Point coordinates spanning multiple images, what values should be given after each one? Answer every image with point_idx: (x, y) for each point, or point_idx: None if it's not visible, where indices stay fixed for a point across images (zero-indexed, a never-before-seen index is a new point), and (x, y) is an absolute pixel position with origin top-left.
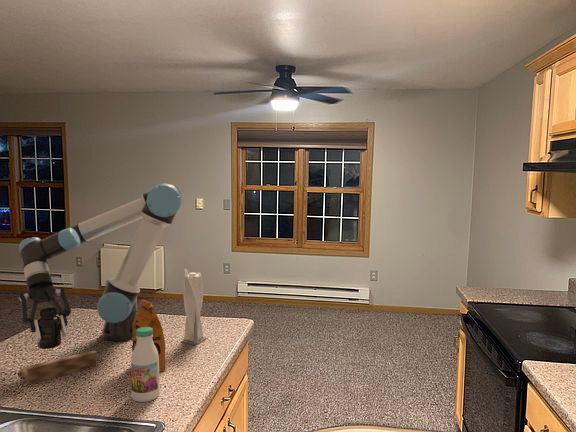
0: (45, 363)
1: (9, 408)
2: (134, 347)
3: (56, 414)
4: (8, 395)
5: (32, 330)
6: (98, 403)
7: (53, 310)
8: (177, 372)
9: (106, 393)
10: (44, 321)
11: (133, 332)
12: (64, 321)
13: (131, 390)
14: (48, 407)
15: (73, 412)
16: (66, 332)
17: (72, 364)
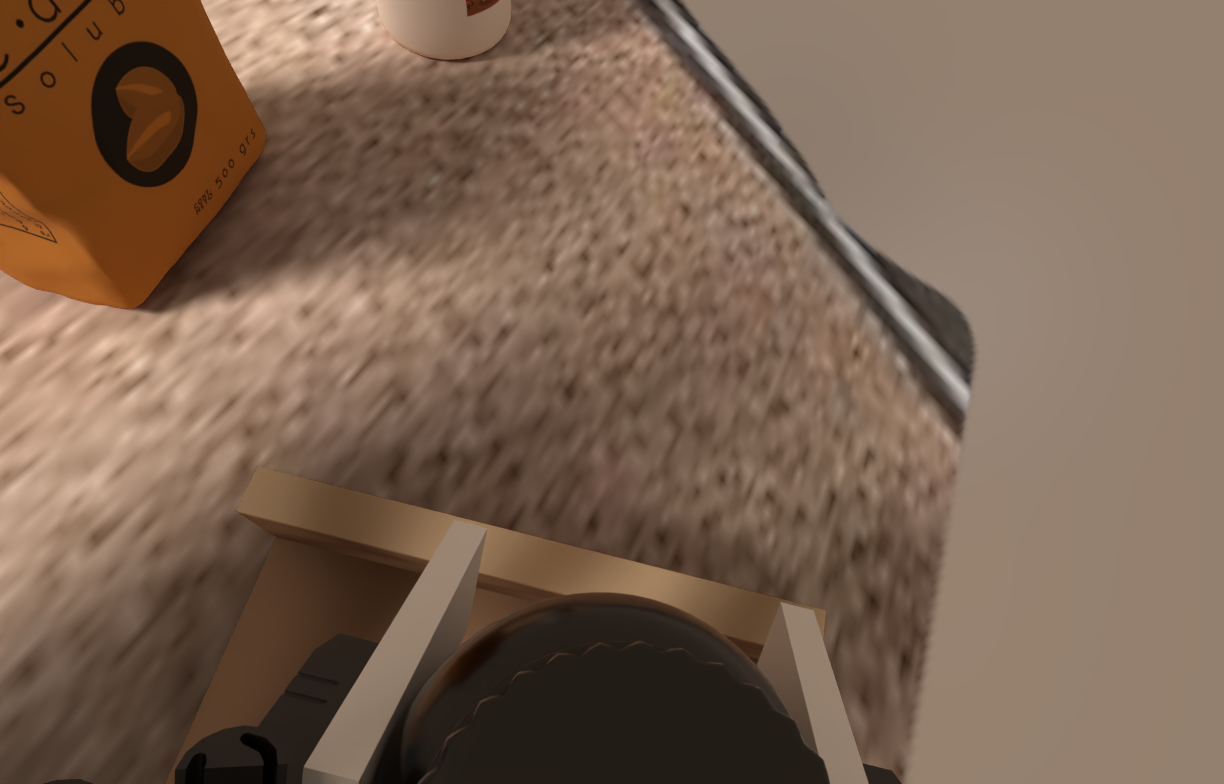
0: (686, 587)
1: (945, 402)
2: (142, 119)
3: (794, 182)
4: (918, 568)
5: (891, 771)
6: (620, 121)
7: (581, 655)
8: None
9: (536, 161)
10: (755, 683)
11: (9, 54)
12: (346, 688)
13: (498, 9)
14: (796, 260)
15: (735, 143)
16: (457, 524)
17: None
